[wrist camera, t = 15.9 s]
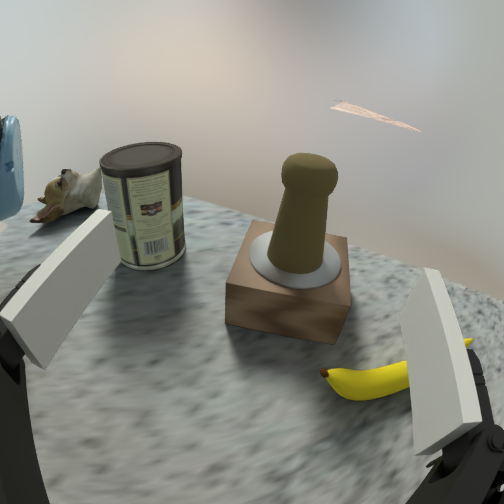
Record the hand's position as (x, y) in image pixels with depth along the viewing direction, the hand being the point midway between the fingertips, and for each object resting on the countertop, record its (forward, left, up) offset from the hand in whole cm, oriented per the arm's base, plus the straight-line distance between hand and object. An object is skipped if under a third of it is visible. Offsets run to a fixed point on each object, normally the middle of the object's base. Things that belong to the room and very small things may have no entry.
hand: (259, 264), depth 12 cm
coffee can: (-18, +21, -18) cm, 34 cm away
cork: (+2, +17, -12) cm, 21 cm away
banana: (+14, +7, -18) cm, 24 cm away
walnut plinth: (+2, +17, -18) cm, 25 cm away
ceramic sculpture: (-39, +27, -19) cm, 51 cm away
